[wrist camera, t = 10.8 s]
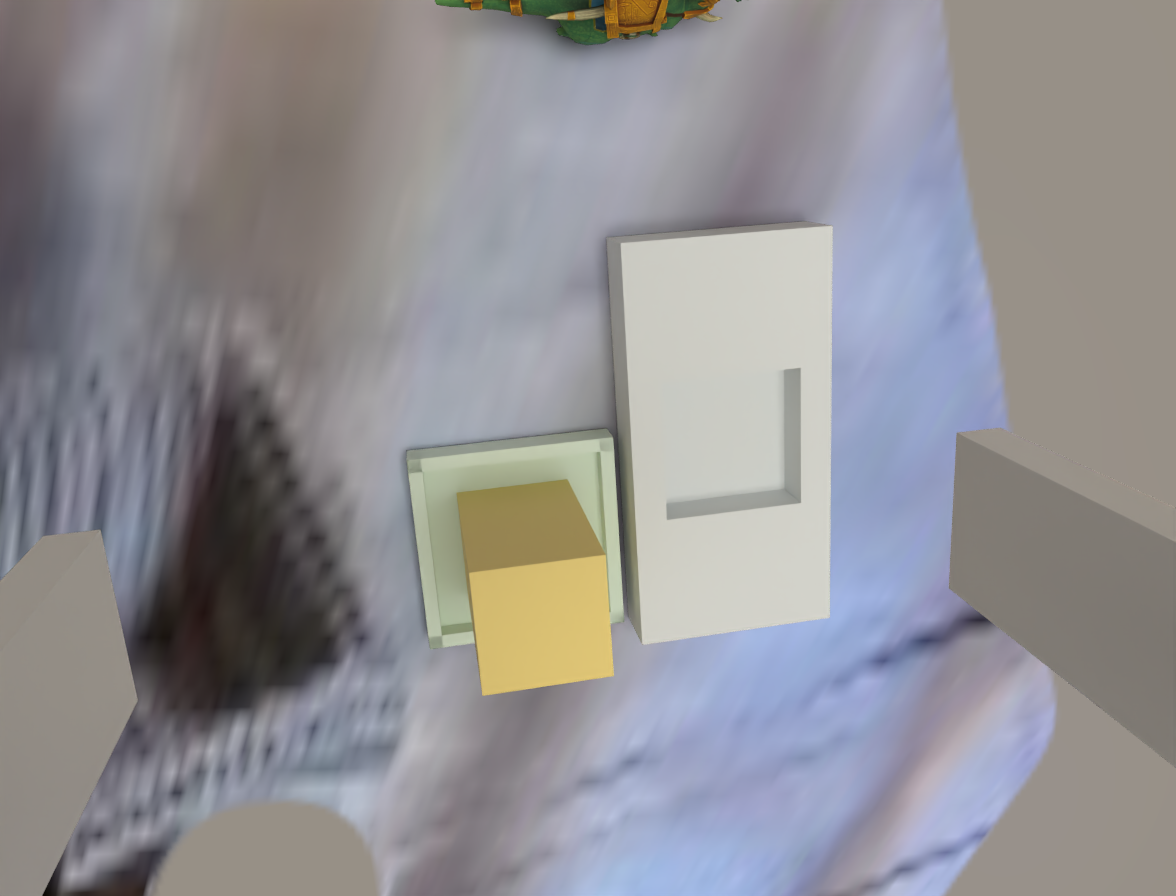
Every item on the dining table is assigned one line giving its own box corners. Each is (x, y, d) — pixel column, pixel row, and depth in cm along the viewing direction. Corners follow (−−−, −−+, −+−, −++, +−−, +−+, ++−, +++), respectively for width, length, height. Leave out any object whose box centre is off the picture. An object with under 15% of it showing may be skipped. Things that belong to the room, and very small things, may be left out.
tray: (429, 634, 46) (429, 649, 45) (406, 450, 44) (406, 460, 42) (617, 608, 48) (624, 621, 46) (606, 428, 45) (613, 437, 44)
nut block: (467, 594, 45) (482, 695, 37) (456, 492, 44) (469, 572, 36) (575, 580, 46) (613, 676, 38) (567, 479, 45) (605, 554, 36)
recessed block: (628, 616, 48) (642, 644, 45) (606, 237, 43) (620, 243, 40) (805, 591, 49) (829, 617, 46) (805, 221, 44) (832, 225, 41)
